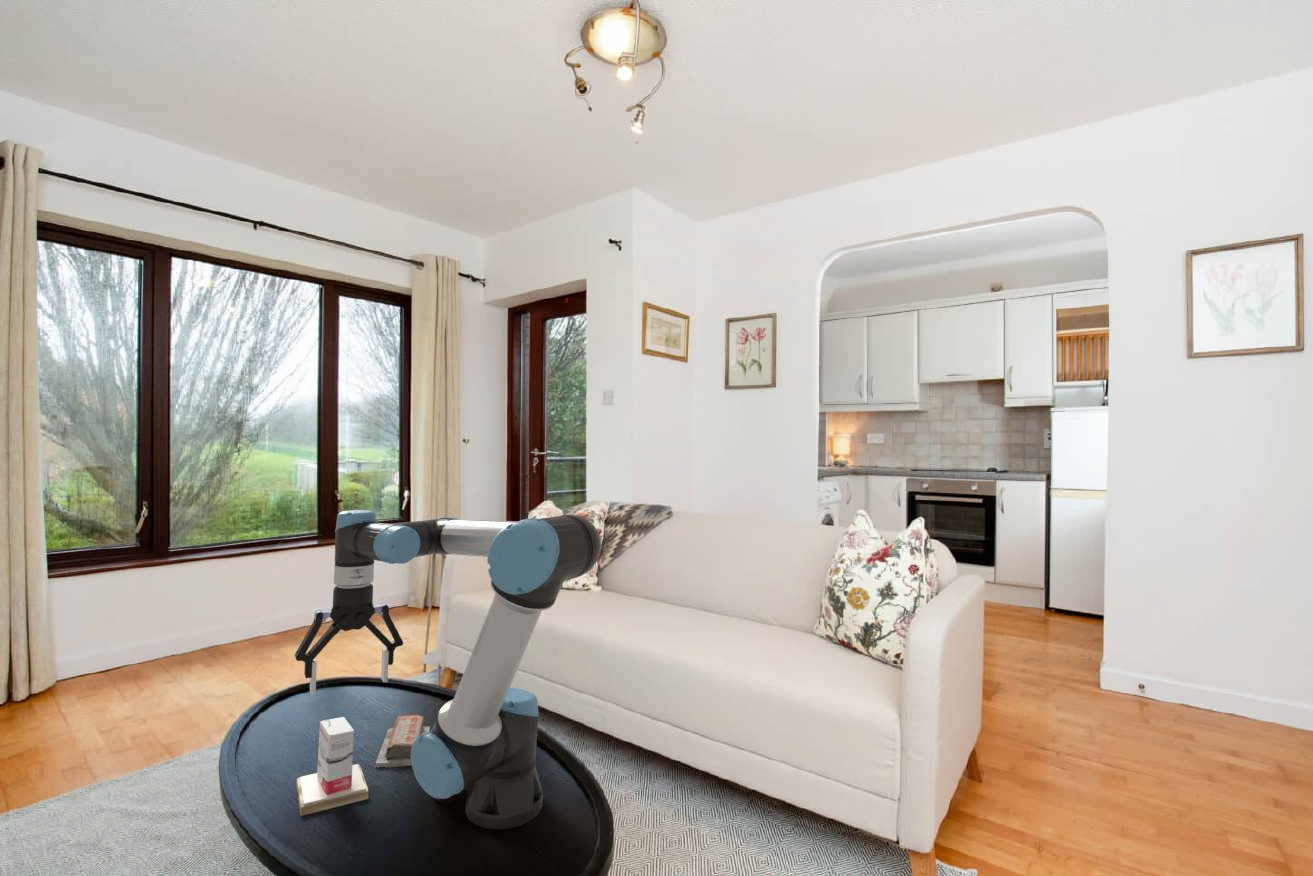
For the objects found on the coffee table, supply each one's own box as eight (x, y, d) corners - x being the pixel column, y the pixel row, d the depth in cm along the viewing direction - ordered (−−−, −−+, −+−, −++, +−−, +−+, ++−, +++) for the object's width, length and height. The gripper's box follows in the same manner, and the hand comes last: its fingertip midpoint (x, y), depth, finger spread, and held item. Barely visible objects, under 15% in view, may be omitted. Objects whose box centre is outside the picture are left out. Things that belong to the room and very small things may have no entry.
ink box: (352, 787, 127) (355, 729, 127) (325, 795, 124) (328, 736, 124) (341, 770, 133) (344, 714, 134) (315, 777, 130) (318, 720, 130)
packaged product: (389, 714, 156) (431, 711, 158) (387, 733, 156) (430, 730, 158) (375, 749, 138) (423, 745, 141) (374, 770, 138) (421, 767, 141)
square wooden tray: (368, 798, 127) (368, 789, 127) (300, 816, 120) (301, 805, 120) (359, 771, 137) (359, 762, 137) (296, 786, 130) (297, 776, 130)
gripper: (286, 594, 120) (281, 705, 120) (420, 582, 134) (416, 681, 134) (283, 586, 126) (278, 692, 126) (411, 575, 140) (407, 670, 140)
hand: (349, 686), depth 130 cm, fingers open, 13 cm apart
